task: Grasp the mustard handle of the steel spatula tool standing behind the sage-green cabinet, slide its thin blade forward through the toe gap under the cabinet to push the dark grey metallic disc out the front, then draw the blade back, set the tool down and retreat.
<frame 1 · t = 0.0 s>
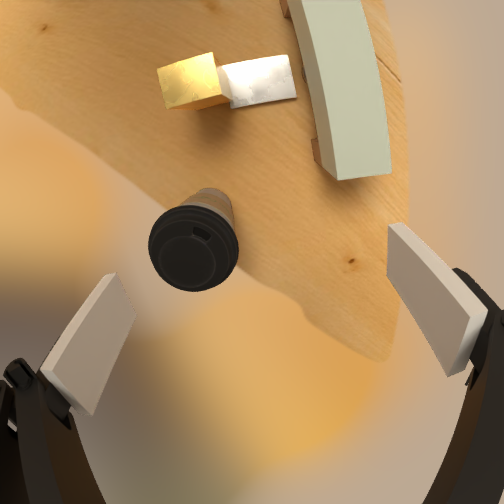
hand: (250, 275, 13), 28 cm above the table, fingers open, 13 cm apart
blade tool: (211, 91, 33), on the table
coffee cup: (210, 207, 41), on the table
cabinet: (320, 73, 32), on the table
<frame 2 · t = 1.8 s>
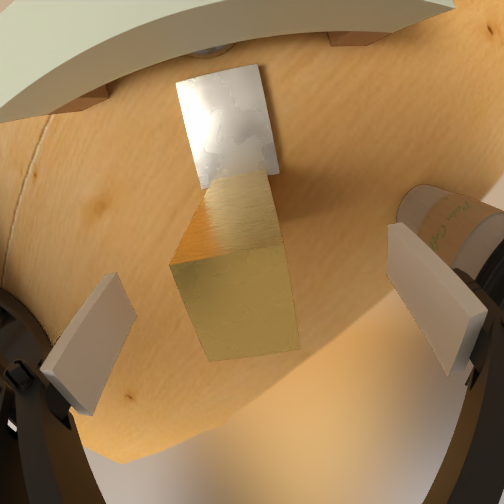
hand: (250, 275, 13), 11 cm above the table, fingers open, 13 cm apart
dark grey metallic disc: (207, 30, 17), on the table
blade tool: (246, 201, 23), on the table
coffee cup: (421, 214, 24), on the table
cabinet: (207, 30, 17), on the table
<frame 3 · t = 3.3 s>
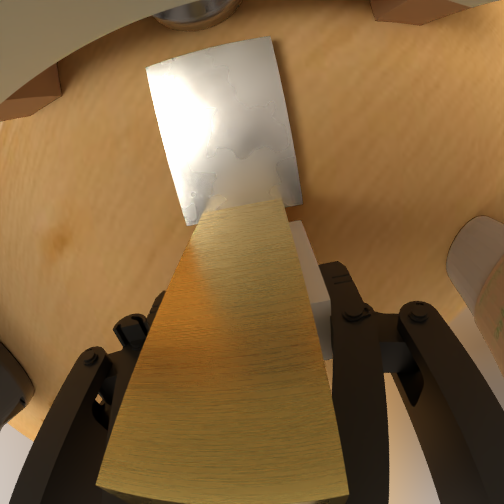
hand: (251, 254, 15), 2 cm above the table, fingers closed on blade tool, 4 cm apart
blade tool: (251, 240, 16), on the table, touching gripper
coffee cup: (473, 251, 17), on the table
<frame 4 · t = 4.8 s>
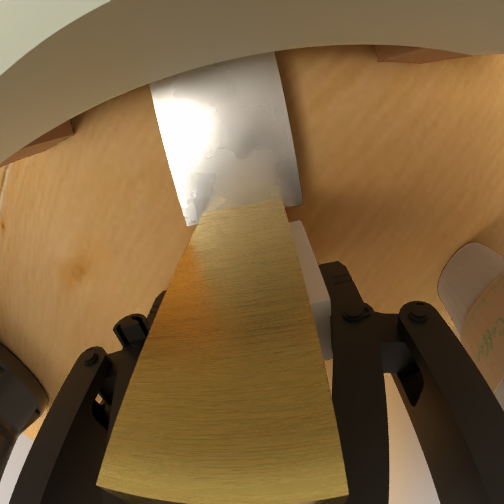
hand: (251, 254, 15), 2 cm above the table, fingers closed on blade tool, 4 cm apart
blade tool: (252, 240, 16), point 1 cm above the table, touching gripper
coffee cup: (464, 274, 18), on the table
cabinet: (202, 33, 12), on the table
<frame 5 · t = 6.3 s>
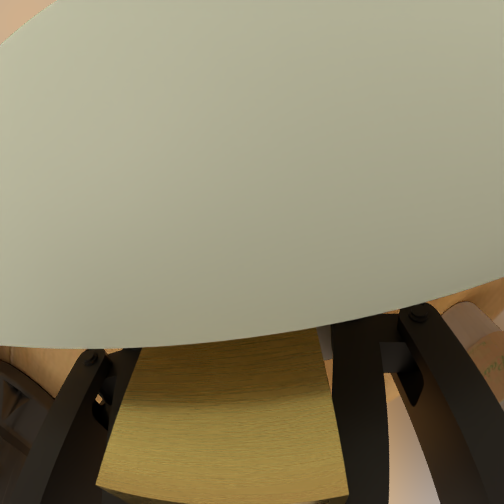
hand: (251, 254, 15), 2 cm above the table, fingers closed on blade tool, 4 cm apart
blade tool: (252, 240, 16), point 1 cm above the table, touching gripper
coffee cup: (452, 326, 21), on the table
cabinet: (227, 124, 14), on the table
when the fingers open (2 cm above the table, at t = 7.9 s): blade tool stays where it is, on the table.
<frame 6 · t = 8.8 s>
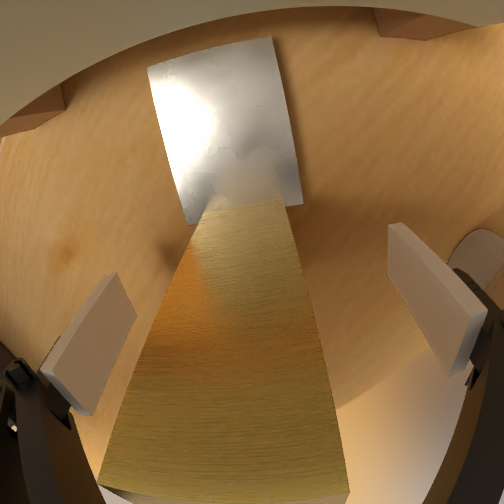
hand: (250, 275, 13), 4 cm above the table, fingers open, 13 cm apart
blade tool: (252, 240, 16), on the table
coffee cup: (472, 263, 17), on the table
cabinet: (199, 6, 10), on the table
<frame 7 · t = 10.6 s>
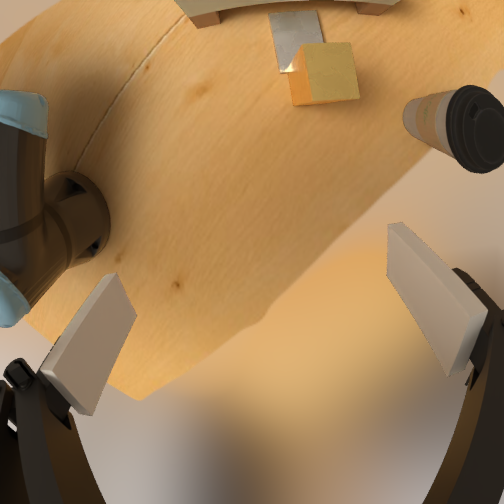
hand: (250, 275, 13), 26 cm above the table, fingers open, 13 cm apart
blade tool: (305, 86, 31), on the table
coffee cup: (419, 119, 32), on the table
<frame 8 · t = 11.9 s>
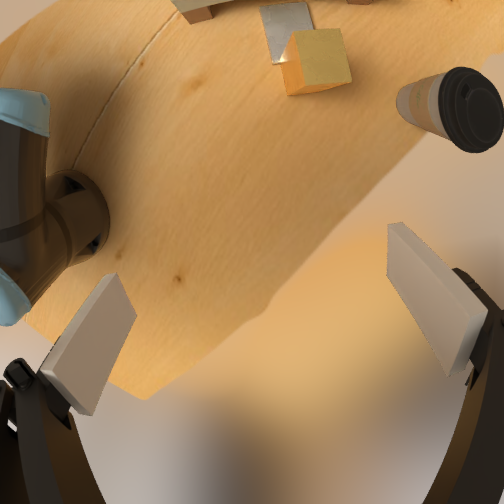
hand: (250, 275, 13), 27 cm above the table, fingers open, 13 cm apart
blade tool: (299, 75, 31), on the table
coffee cup: (413, 105, 32), on the table
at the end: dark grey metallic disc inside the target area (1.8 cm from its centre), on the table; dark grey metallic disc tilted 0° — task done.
